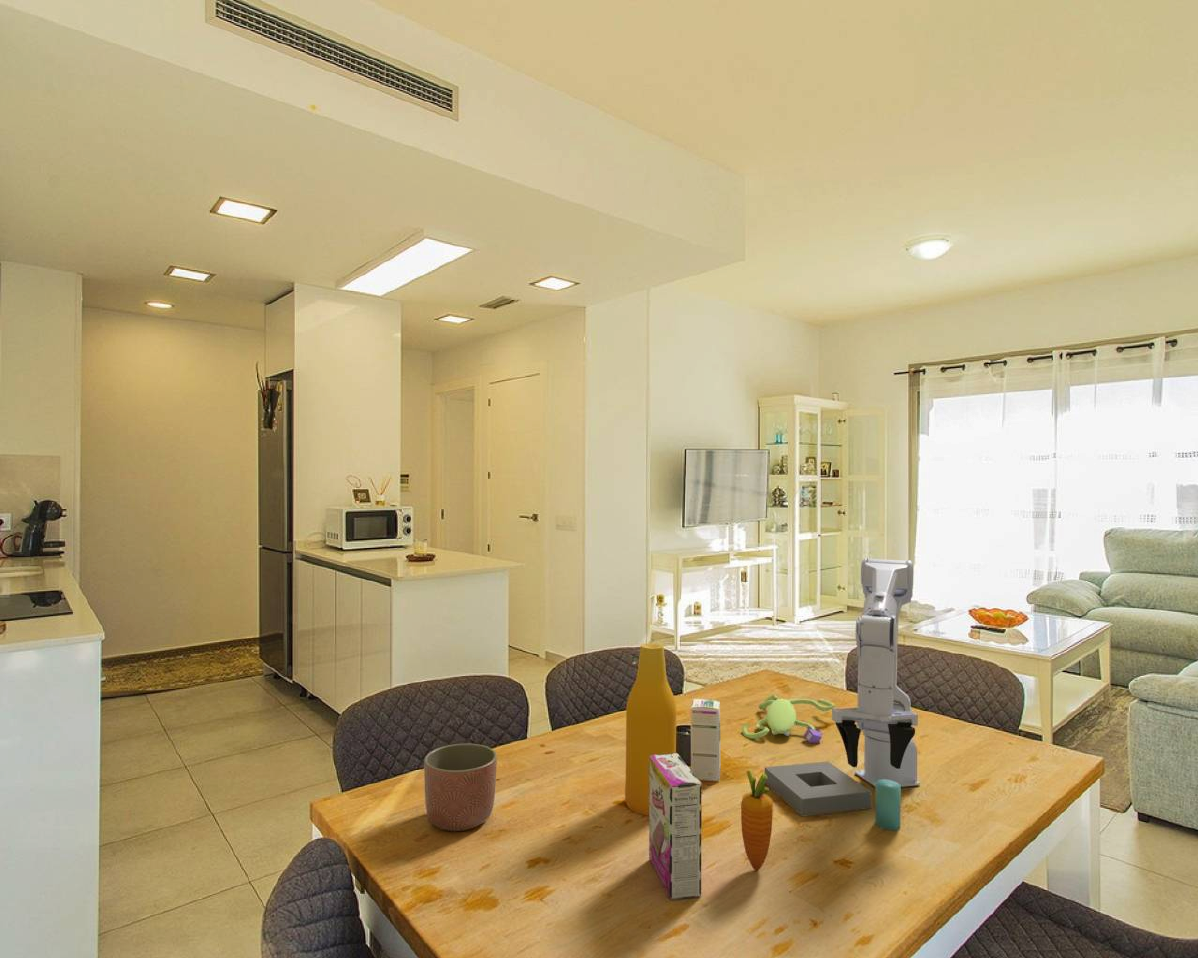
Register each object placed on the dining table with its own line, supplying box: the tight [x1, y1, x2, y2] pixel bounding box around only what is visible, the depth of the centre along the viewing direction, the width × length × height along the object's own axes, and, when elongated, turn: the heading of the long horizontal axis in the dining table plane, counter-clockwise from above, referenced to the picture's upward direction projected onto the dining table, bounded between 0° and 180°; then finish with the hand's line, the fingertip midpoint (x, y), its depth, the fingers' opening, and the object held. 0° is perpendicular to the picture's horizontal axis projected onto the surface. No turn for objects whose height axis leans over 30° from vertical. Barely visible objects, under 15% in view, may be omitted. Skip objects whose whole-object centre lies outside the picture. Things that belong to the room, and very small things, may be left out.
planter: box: [423, 743, 498, 832], centre depth 119 cm, size 12×12×11 cm
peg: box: [874, 779, 902, 831], centre depth 119 cm, size 4×4×7 cm
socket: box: [764, 760, 872, 817], centre depth 131 cm, size 14×14×3 cm
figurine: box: [741, 694, 835, 744], centre depth 168 cm, size 18×27×6 cm
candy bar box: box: [648, 752, 703, 901], centre depth 102 cm, size 11×5×16 cm, turn 12°
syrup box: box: [690, 698, 721, 782], centre depth 139 cm, size 6×6×14 cm
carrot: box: [740, 770, 774, 872], centre depth 105 cm, size 5×5×15 cm
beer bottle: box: [624, 642, 677, 816], centre depth 126 cm, size 9×9×29 cm
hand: (873, 766), depth 119 cm, fingers open, 7 cm apart
